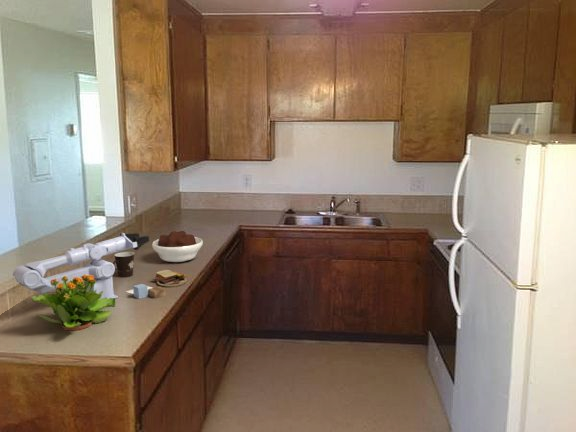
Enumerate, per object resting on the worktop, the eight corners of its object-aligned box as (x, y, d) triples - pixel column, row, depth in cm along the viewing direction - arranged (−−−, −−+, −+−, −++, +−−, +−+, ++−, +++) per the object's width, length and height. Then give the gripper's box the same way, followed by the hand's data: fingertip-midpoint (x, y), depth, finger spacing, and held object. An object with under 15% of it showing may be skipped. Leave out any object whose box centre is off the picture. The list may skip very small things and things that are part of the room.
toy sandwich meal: (167, 290, 222) (166, 279, 221) (150, 283, 231) (149, 272, 230) (192, 283, 230) (191, 272, 229) (175, 277, 240) (174, 266, 239)
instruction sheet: (136, 295, 215) (136, 294, 215) (125, 292, 219) (125, 291, 218) (155, 288, 223) (155, 288, 223) (144, 285, 227) (144, 285, 227)
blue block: (139, 299, 210) (138, 288, 209) (133, 296, 213) (133, 286, 212) (147, 296, 213) (147, 285, 212) (142, 294, 216) (142, 283, 215)
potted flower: (100, 339, 172) (96, 288, 168) (25, 342, 170) (19, 290, 167) (118, 312, 196) (115, 266, 193) (52, 314, 194) (48, 268, 191)
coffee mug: (129, 271, 248) (128, 250, 246) (138, 275, 242) (137, 254, 240) (106, 276, 240) (104, 255, 238) (115, 280, 234) (113, 259, 232)
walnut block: (155, 299, 210) (154, 292, 210) (148, 296, 214) (147, 289, 213) (165, 296, 214) (165, 289, 213) (159, 293, 217) (158, 286, 217)
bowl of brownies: (165, 252, 282) (164, 225, 279) (210, 254, 277) (209, 226, 274) (144, 265, 258) (142, 235, 255) (192, 267, 253) (191, 237, 250)
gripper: (121, 238, 206) (151, 230, 215) (103, 233, 216) (133, 225, 225) (123, 256, 207) (153, 247, 217) (106, 249, 217) (135, 241, 227)
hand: (143, 237), depth 221 cm, fingers open, 7 cm apart
